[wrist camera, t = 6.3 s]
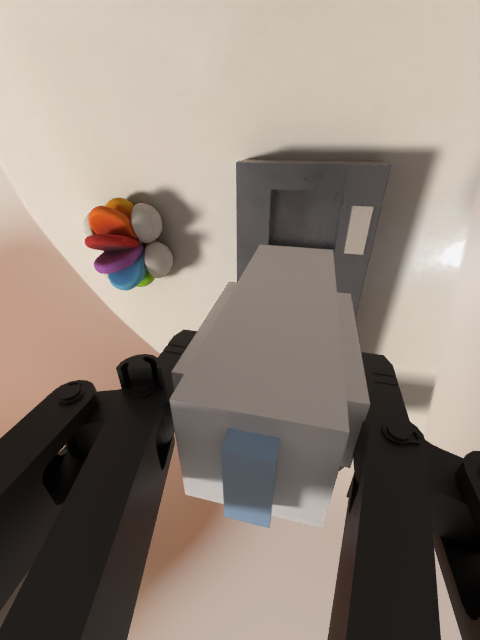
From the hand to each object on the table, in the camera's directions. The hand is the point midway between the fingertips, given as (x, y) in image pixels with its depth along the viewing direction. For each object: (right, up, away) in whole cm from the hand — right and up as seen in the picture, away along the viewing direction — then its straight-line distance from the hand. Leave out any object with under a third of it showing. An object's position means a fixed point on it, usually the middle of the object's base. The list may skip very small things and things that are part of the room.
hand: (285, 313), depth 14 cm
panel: (+4, +5, +18) cm, 19 cm away
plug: (+1, +2, +3) cm, 4 cm away
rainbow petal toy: (-14, +9, +21) cm, 27 cm away
